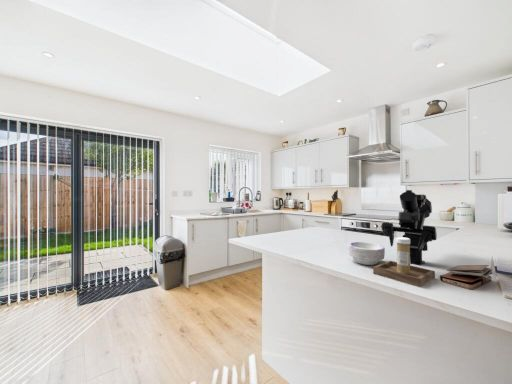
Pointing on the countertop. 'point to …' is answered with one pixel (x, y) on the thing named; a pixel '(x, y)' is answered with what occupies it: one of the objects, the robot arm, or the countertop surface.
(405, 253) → the sprinkles bottle
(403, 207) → the robot arm
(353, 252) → the paper bowls
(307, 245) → the countertop surface
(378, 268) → the walnut tray
